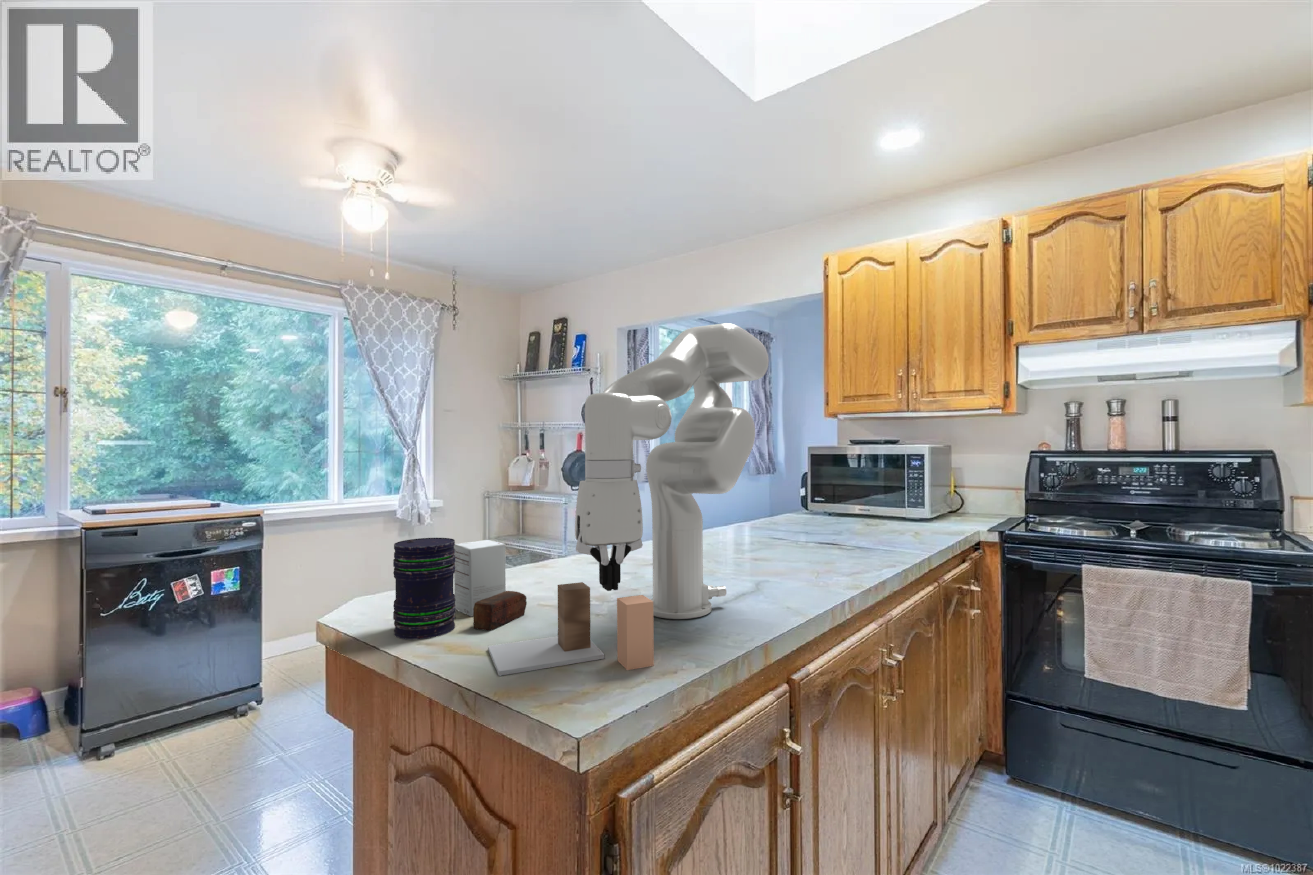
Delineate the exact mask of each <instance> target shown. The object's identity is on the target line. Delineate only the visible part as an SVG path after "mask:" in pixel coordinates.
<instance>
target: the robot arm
mask: <svg viewBox="0 0 1313 875" xmlns="http://www.w3.org/2000/svg"><path fill="white" fill-rule="evenodd" d="M768 369H769V354H768V351H767V349H766V347H765V345H764V344H763V342H761V341H760V339H758V338H756V336H754V335H753V334H751V333H750V332H748V331H747V330H746V329H744V328H742V327H741V326H739V325H736V324H734V323H728V322H723V323H717V324H715V323H714V324H708V325H700V326H693V327H690V328H687V329H685V330H683V331H681V333H679V334H678V335H677V336H676V338H674V339H673V341H672V342H670V343H669V345H668V346H667V347H666V348H665V349H664V350H663V351H662V352H661V353H660V355H659V356H658V357H657V358H656V359H654V360H653V361H651V362H648V363H647V364H644V365H642V366H640V367H638V368H637V369H634V370H633V371H631V372H629V373H627V374H625V375H623V376H622V377H619V378H618V379H617V380H615V381H613V382H612V383H611V384H609V385H608V387H607V388H605V389H604V391H603V392H597V393H591V394H590V395H588V396H587V398H586V400H585V401H584V402H585V403H584V446H585V447H584V449H585V450H584V454H585V461H584V463H585V468H584V470H585V472H584V473H585V475H584V477H585V480H580V481H579V485H578V490H577V495H576V496H577V497H576V505H575V506H576V507H575V517H574V518H575V519H574V537H575V539H576V545H575V551H576V552H577V553H578V554H582V555H588V556H589V555H590V556H591V557H593V559H594V560H595V561H596V562H597V563H598V566H599V567H598V570H599V571H598V572H599V574H598V575H599V576H598V577H599V578H598V580H599V584H600V586H601V587H602V589H604V590H606V591H607V592H612V591H618V590H619V584H620V583H621V564H623V562H624V560H625V558H626V557H627V556H628V555H629V553H630V552H633V551H636V550H640V549H642V548H643V542H642V537H643V534H644V532H643V531H644V529H643V528H644V527H643V526H644V523H643V507H642V499H641V495H640V494H641V493H640V489H639V484H638V481H637V479H634V477H635V474H636V473H640V472H641V471H642V465H641V463H636V462H635V460H634V441H649V440H650V441H652V440H657V439H659V438H661V437H663V436H664V435H665V434H666V433H667V432H668V431H669V429H670V428H671V424H672V411H671V408H670V406H669V405H668V404H667V402H668V401H672V400H674V399H677V398H680V397H682V396H683V395H685V394H687V393H688V392H689V391H690V390H691V389H692V388H693V391H694V392H693V393H694V397H693V399H692V402H691V403H690V404H689V406H688V408H687V409H686V410H685V412H684V414H683V415H682V417H681V418H680V421H679V422H678V424H677V425H676V428H675V431H674V441H673V442H664V443H661V444H658V445H656V446H655V447H654V448H652V449H651V451H650V452H649V454H648V456H647V458H646V462H645V463H646V464H645V465H646V468H645V469H646V477H647V481H648V487H649V493H650V498H651V499H650V500H651V515H652V516H651V517H652V518H651V522H652V523H651V524H652V530H651V531H652V532H651V535H652V536H651V541H652V542H651V543H652V546H651V547H652V598H651V599H650V598H649V599H650V600H652V601H653V617H657V618H662V619H668V620H687V619H696V618H701V617H704V616H707V615H708V614H710V613H711V611H712V610H713V608H712V607H713V606H712V603H711V601H710V600H712V599H713V598H714V597H715V598H718V597H725V596H726V595H727V589H726V586H724V585H720V586H719V585H718V586H713V585H712V584H711V585H708V584H705V583H704V544H703V543H704V540H703V539H704V538H703V536H704V535H703V532H704V530H703V529H704V528H703V526H704V524H703V522H704V521H703V520H704V519H703V514H702V510H701V509H700V506H699V504H698V502H697V500H696V499H695V498H694V496H693V494H699V495H700V494H702V495H705V494H706V495H721V494H727V493H728V492H730V491H731V490H732V489H733V488H734V487H735V485H736V484H737V482H738V480H739V477H740V475H741V473H742V471H743V470H744V467H745V465H746V463H747V461H748V459H749V457H750V455H751V453H752V450H753V447H754V445H755V439H756V427H755V426H756V425H755V421H754V419H753V417H752V415H751V414H750V413H749V411H747V410H746V409H744V408H743V407H742V408H741V407H739V406H738V407H736V406H733V403H732V400H731V398H730V397H729V395H728V393H727V392H726V391H725V390H724V389H723V387H721V386H720V384H724V383H725V384H727V383H729V384H730V383H740V382H742V383H743V382H751V381H752V382H753V381H757V380H760V379H761V378H763V377H764V376H765V375H766V373H767V370H768ZM608 546H611V552H610V558H609V553H608V552H609V551H608Z"/></svg>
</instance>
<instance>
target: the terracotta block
mask: <svg viewBox="0 0 1313 875" xmlns="http://www.w3.org/2000/svg"><path fill="white" fill-rule="evenodd" d="M616 618H617V619H616V625H617V626H616V629H617V630H616V632H617V633H616V638H617V639H616V642H617V645H616V646H617V650H616V651H617V655H616V656H617V657H616V658H617V661H618V662H619V664H620V665H622V666H623V667H624V669H625V670H626V671H629V670H631V671H632V670H637V669H642V668H647V667H648V668H649V667H654V666H655V664H654V663H655V660H654V659H655V658H654V655H655V652H654V651H655V650H654V648H655V647H654V646H655V645H654V644H655V640H654V639H655V638H654V637H655V635H654V627H655V626H654V616H653V601H652V600H650V598H648V597H647V596H645V595H643V594H639V595H630V596H623V597H617V598H616Z"/></svg>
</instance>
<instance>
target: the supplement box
mask: <svg viewBox="0 0 1313 875" xmlns="http://www.w3.org/2000/svg"><path fill="white" fill-rule="evenodd" d="M454 548H455V567H456V568H455V573H454V574H453V592H454V595H455V599H456V601H455V605H456V611H458V612H460V613H461V614H464V615H466V614H467V615H466V616H469V617H472V618H473V608H474V604H475V603H476V602H477V601H480V600H482V599H485V598H489V597H492V596H494V595H497V594H499V593H502V592H504V591H507V590H506V587H507V586H506V584H507V583H506V544H505V543H504V542H500V541H495V540H490V539H483V540H477V541H468V542H461V543H455V545H454Z"/></svg>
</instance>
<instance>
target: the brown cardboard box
mask: <svg viewBox="0 0 1313 875" xmlns="http://www.w3.org/2000/svg"><path fill="white" fill-rule="evenodd" d="M557 636H558V644H559V645H560V647H561V648H562V649H563V650H564V652H566V651H572V650H579V649H585V648H591V641H592V640H591V587H590V586H588V585H587V584H585V583H584V582H583V581H580V582H569V583H564V584H563V583H562V584H557Z"/></svg>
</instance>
